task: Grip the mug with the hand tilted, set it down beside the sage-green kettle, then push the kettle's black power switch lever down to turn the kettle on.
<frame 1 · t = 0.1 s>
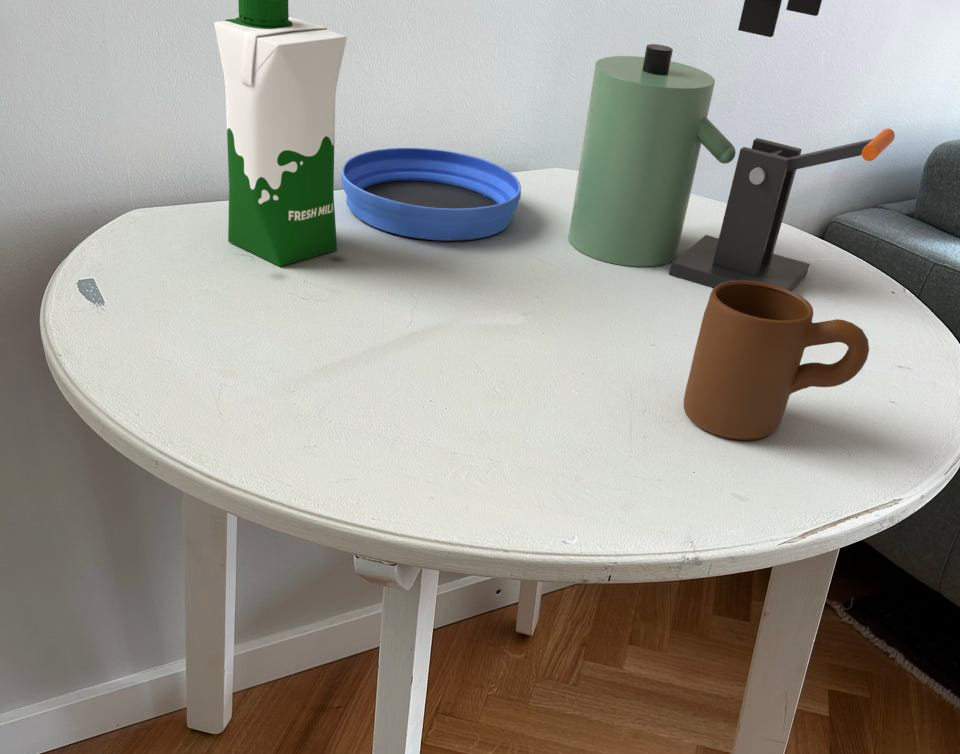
hand: (779, 22, 93), 22 cm above the table, tool pointing down, fingers open, 13 cm apart
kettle: (622, 245, 112), on the table
kettle base: (738, 275, 109), on the table
mug: (757, 427, 85), on the table
switch: (816, 158, 100), point 12 cm above the table, hinge at 25.0°
milk carton: (283, 248, 102), on the table
bowl: (429, 213, 113), on the table
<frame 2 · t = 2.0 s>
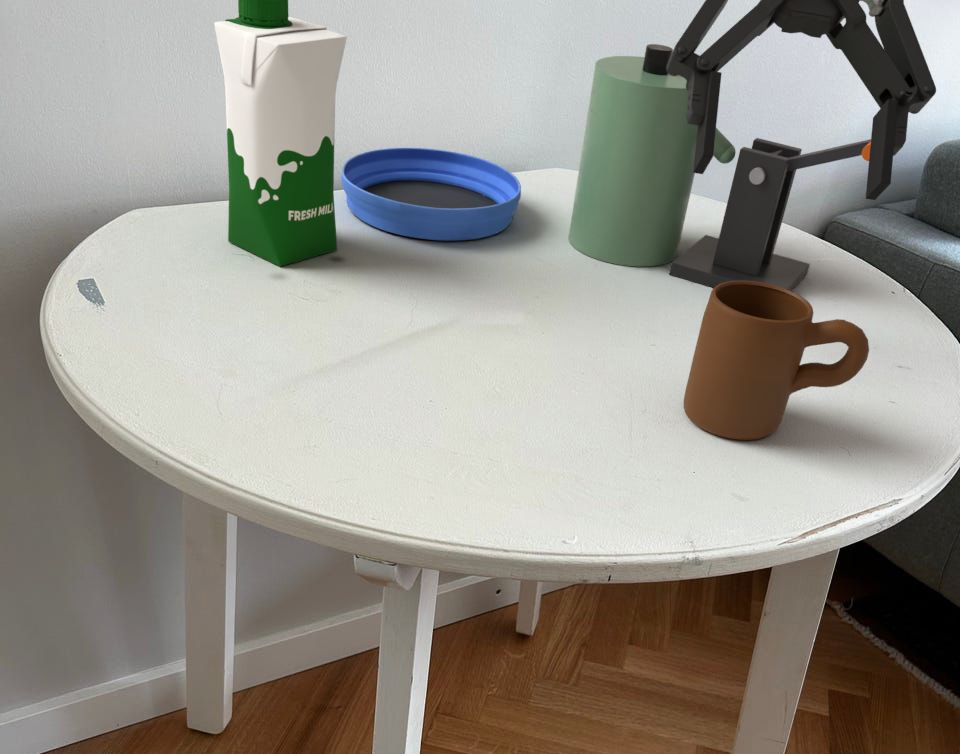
hand: (790, 178, 84), 15 cm above the table, tool tilted 45°, fingers open, 13 cm apart
nothing on the table moved.
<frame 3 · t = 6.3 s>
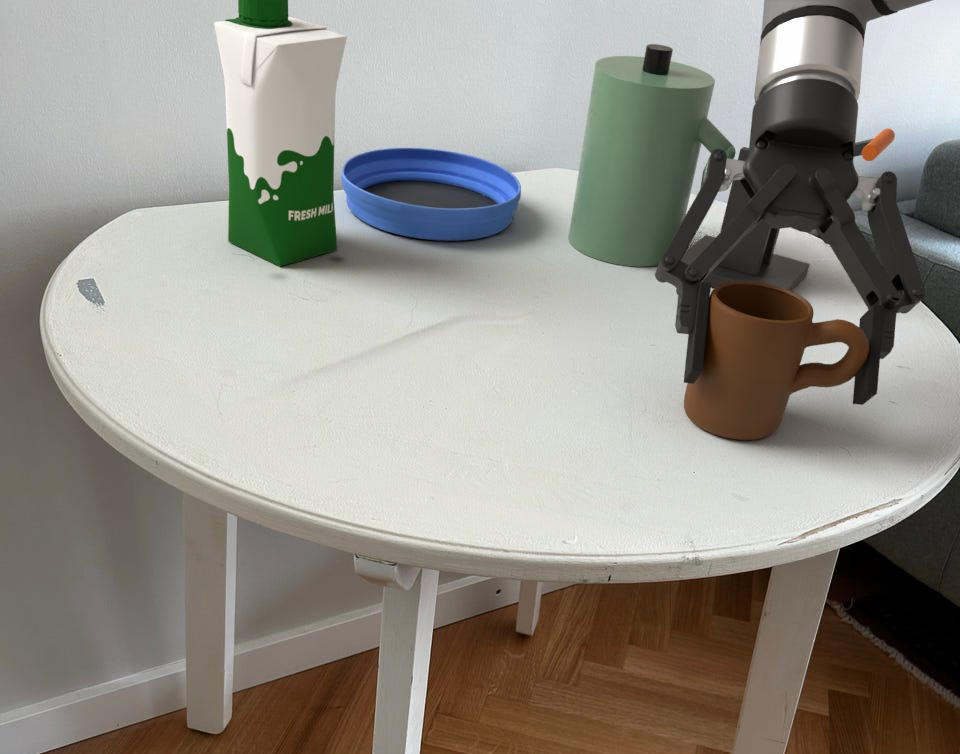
hand: (778, 388, 80), 4 cm above the table, tool tilted 45°, fingers closed on mug, 12 cm apart
mug: (757, 427, 85), on the table, touching gripper
everything else where it was.
when the fingers open (4 cm above the table, at t = 13.9 s): mug stays where it is, on the table.
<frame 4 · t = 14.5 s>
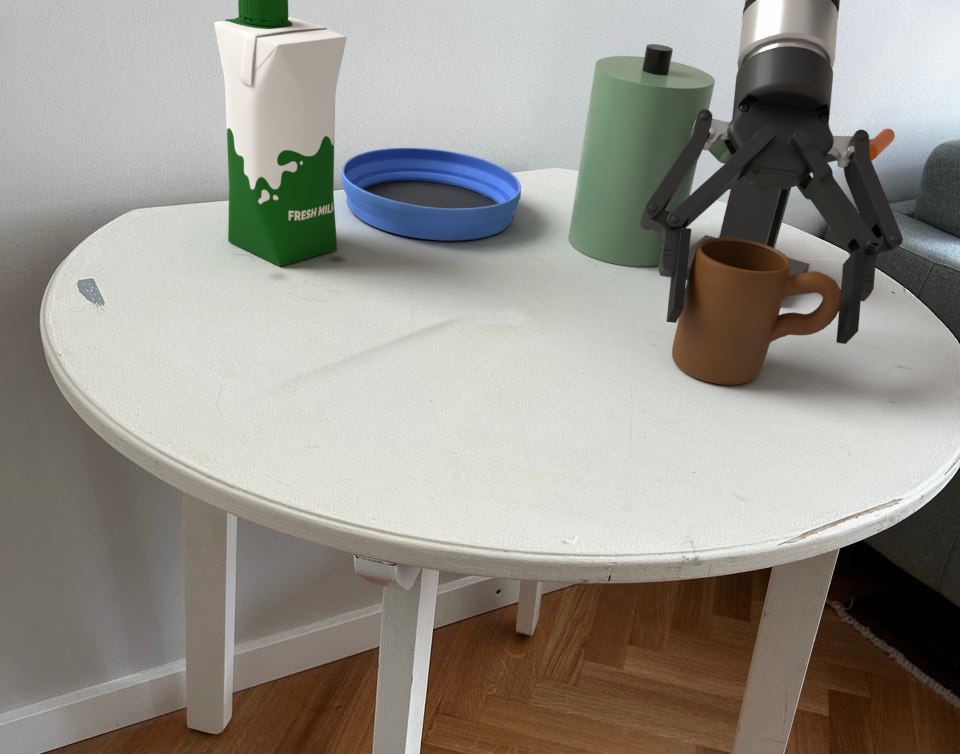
hand: (760, 327, 87), 5 cm above the table, tool tilted 45°, fingers open, 13 cm apart
mug: (740, 374, 92), on the table
everything else where it was.
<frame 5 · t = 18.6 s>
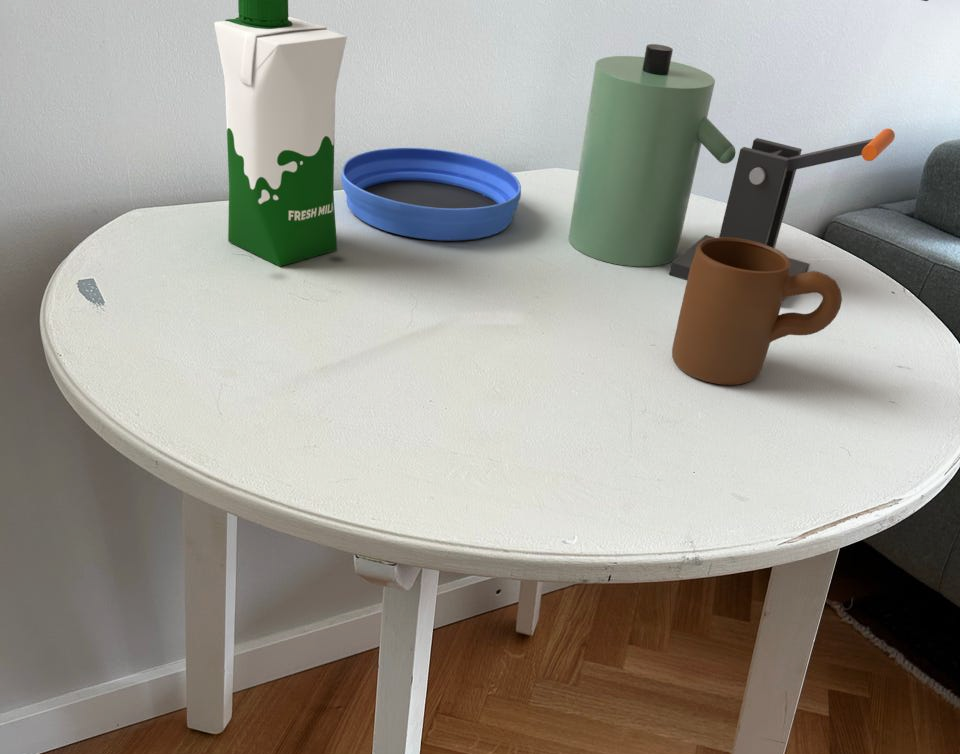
nothing on the table moved.
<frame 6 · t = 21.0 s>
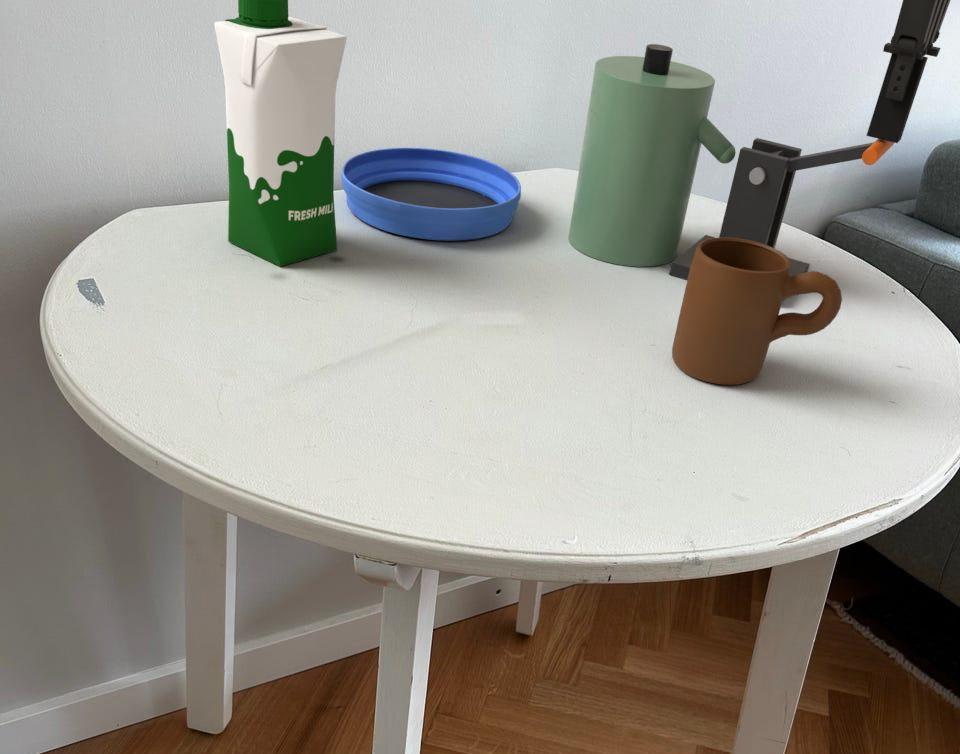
hand: (883, 137, 96), 15 cm above the table, tool pointing down, fingers closed
switch: (816, 159, 100), point 12 cm above the table, hinge at 23.1°, touching gripper
everything else where it was.
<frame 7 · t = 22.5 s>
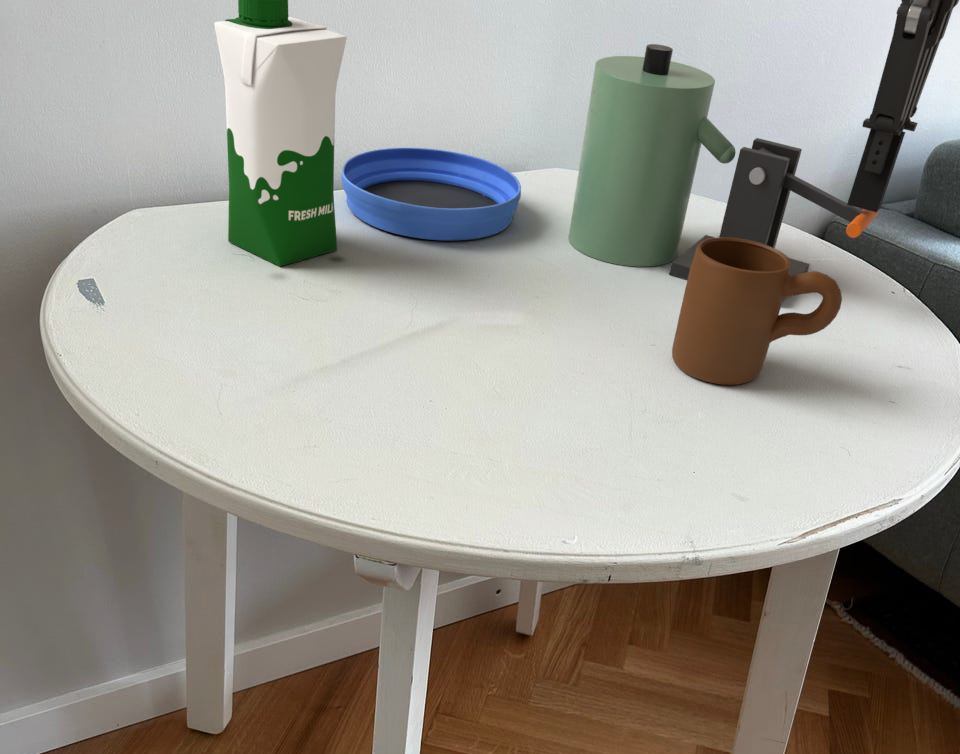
hand: (863, 206, 100), 9 cm above the table, tool pointing down, fingers closed
switch: (810, 192, 102), point 9 cm above the table, hinge at -12.5°, touching gripper
everything else where it was.
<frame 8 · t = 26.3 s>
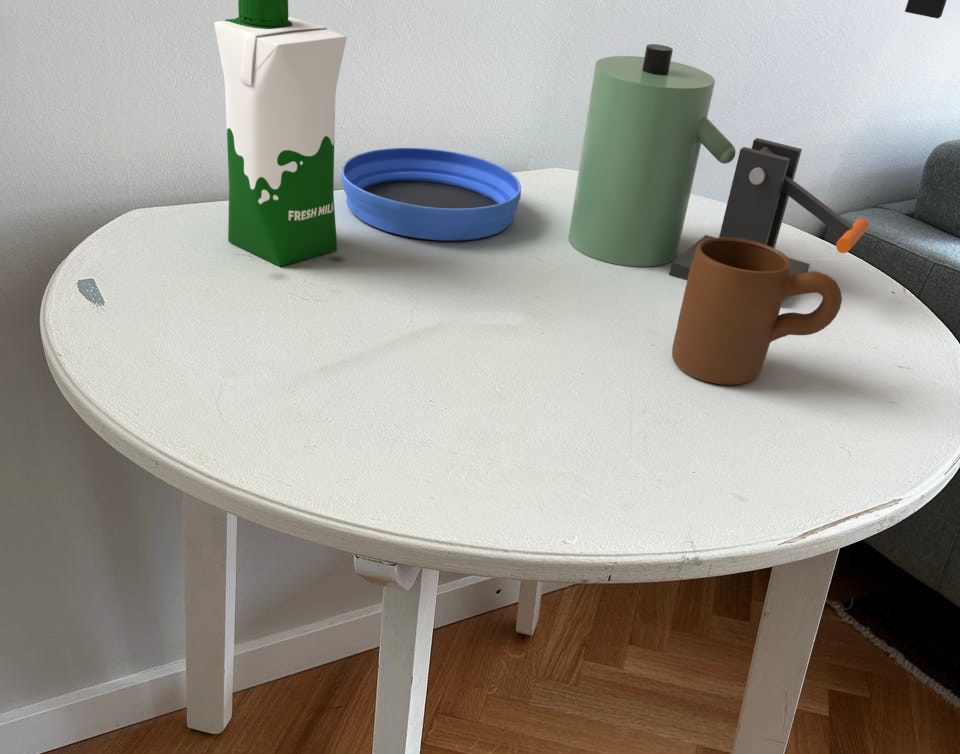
hand: (923, 13, 90), 24 cm above the table, tool pointing down, fingers closed
switch: (806, 199, 102), point 8 cm above the table, hinge at -21.4°
everything else where it was.
at the end: mug inside the target area on the table beside the kettle base (0.0 cm from its centre), on the table; mug tilted 0°; switch at -21° (first picture: +25°) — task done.
